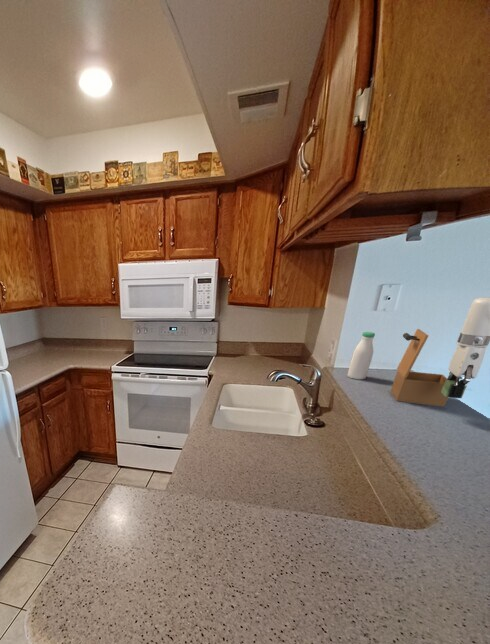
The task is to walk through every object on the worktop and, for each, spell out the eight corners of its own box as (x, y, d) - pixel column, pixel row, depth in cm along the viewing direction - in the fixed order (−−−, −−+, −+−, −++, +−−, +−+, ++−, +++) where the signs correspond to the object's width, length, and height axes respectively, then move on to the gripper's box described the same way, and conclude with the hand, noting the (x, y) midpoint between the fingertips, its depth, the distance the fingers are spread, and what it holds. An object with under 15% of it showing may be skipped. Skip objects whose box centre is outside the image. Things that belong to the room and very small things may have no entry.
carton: (434, 395, 131) (442, 374, 127) (444, 406, 121) (453, 384, 117) (390, 390, 136) (397, 370, 132) (396, 400, 126) (404, 379, 122)
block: (456, 393, 112) (461, 381, 110) (461, 398, 108) (467, 385, 106) (440, 392, 114) (445, 379, 112) (445, 396, 110) (450, 384, 108)
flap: (419, 329, 123) (404, 326, 125) (428, 335, 113) (412, 332, 115) (399, 369, 132) (384, 366, 133) (406, 378, 122) (390, 375, 123)
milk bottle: (367, 380, 147) (380, 335, 137) (348, 378, 149) (360, 333, 140) (364, 375, 153) (377, 331, 143) (346, 373, 155) (358, 330, 146)
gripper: (501, 346, 94) (475, 405, 103) (477, 335, 108) (455, 387, 117) (469, 345, 97) (446, 402, 105) (449, 334, 111) (430, 385, 119)
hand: (451, 394), depth 111 cm, fingers closed on block, 4 cm apart
